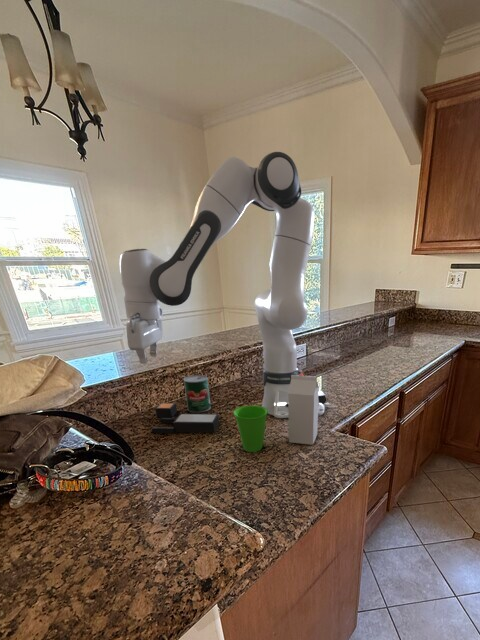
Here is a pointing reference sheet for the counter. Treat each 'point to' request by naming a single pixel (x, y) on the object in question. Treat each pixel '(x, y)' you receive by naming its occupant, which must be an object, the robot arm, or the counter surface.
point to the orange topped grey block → (166, 410)
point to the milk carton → (303, 409)
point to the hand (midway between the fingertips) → (149, 359)
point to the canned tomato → (197, 393)
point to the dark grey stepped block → (190, 423)
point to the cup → (251, 426)
